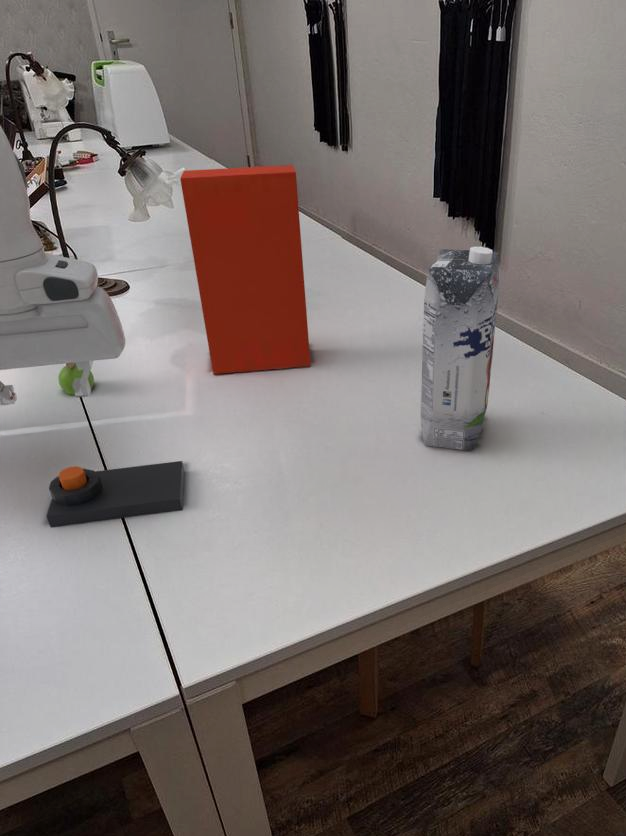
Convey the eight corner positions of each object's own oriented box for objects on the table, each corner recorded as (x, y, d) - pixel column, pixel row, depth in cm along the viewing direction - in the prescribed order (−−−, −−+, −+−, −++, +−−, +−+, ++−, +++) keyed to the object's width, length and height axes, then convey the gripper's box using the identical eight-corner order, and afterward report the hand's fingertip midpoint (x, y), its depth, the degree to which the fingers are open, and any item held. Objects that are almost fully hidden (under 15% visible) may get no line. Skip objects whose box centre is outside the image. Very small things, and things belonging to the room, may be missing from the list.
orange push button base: (50, 528, 81) (42, 505, 78) (63, 487, 88) (55, 465, 86) (182, 510, 83) (177, 488, 81) (184, 472, 90) (179, 450, 88)
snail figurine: (100, 383, 114) (82, 316, 107) (94, 399, 109) (74, 331, 102) (68, 386, 113) (47, 319, 106) (60, 403, 108) (38, 334, 101)
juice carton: (416, 449, 93) (421, 258, 78) (430, 414, 102) (437, 235, 86) (478, 457, 91) (496, 262, 76) (487, 420, 100) (505, 238, 84)
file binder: (214, 357, 122) (183, 169, 103) (307, 349, 124) (292, 164, 105) (213, 375, 115) (180, 178, 97) (310, 367, 117) (295, 172, 99)
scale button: (60, 492, 81) (56, 480, 80) (64, 479, 84) (60, 467, 83) (85, 489, 82) (81, 477, 81) (88, 476, 84) (85, 464, 83)
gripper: (-114, 299, 64) (-58, 422, 72) (102, 281, 67) (133, 401, 75) (-91, 279, 69) (-41, 396, 77) (109, 263, 72) (137, 377, 80)
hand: (46, 398), depth 76 cm, fingers open, 7 cm apart
